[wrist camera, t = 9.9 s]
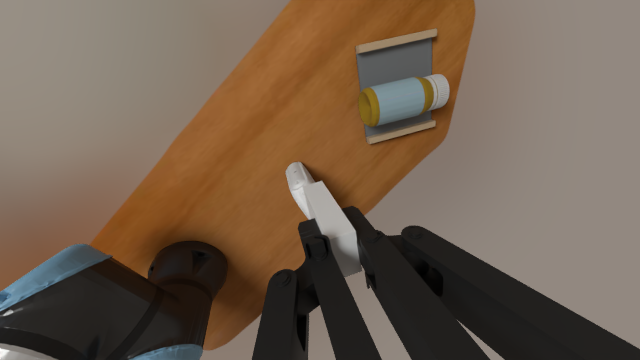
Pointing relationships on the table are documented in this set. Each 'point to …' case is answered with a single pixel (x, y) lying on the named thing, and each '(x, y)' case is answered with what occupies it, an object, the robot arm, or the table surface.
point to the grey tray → (396, 76)
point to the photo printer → (299, 184)
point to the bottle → (402, 99)
